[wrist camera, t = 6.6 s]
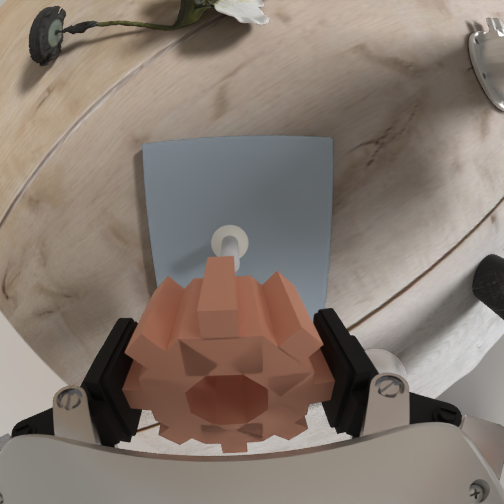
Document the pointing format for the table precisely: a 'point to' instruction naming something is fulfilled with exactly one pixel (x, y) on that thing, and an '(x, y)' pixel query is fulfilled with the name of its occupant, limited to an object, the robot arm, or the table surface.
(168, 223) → the gear board
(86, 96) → the table surface
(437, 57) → the table surface
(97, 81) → the table surface
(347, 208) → the table surface
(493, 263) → the travel mug
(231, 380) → the terracotta gear
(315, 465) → the robot arm
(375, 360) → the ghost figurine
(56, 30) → the artificial flower
